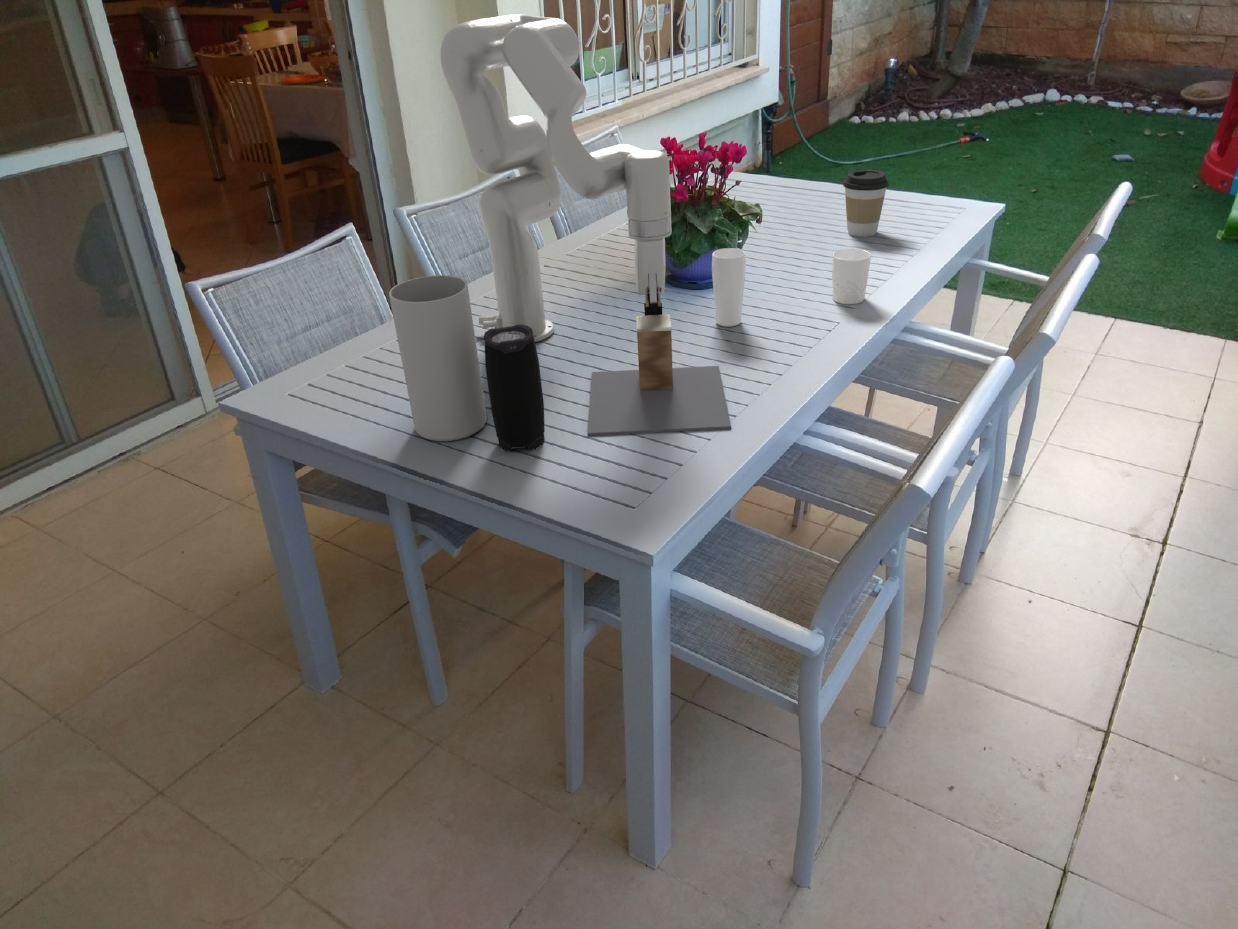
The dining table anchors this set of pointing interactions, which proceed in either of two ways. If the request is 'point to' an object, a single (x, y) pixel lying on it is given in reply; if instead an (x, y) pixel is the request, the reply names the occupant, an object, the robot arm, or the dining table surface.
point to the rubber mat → (657, 403)
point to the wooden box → (654, 352)
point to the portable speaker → (515, 387)
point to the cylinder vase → (439, 356)
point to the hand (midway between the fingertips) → (653, 324)
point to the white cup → (850, 275)
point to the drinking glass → (728, 285)
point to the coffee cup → (864, 201)
